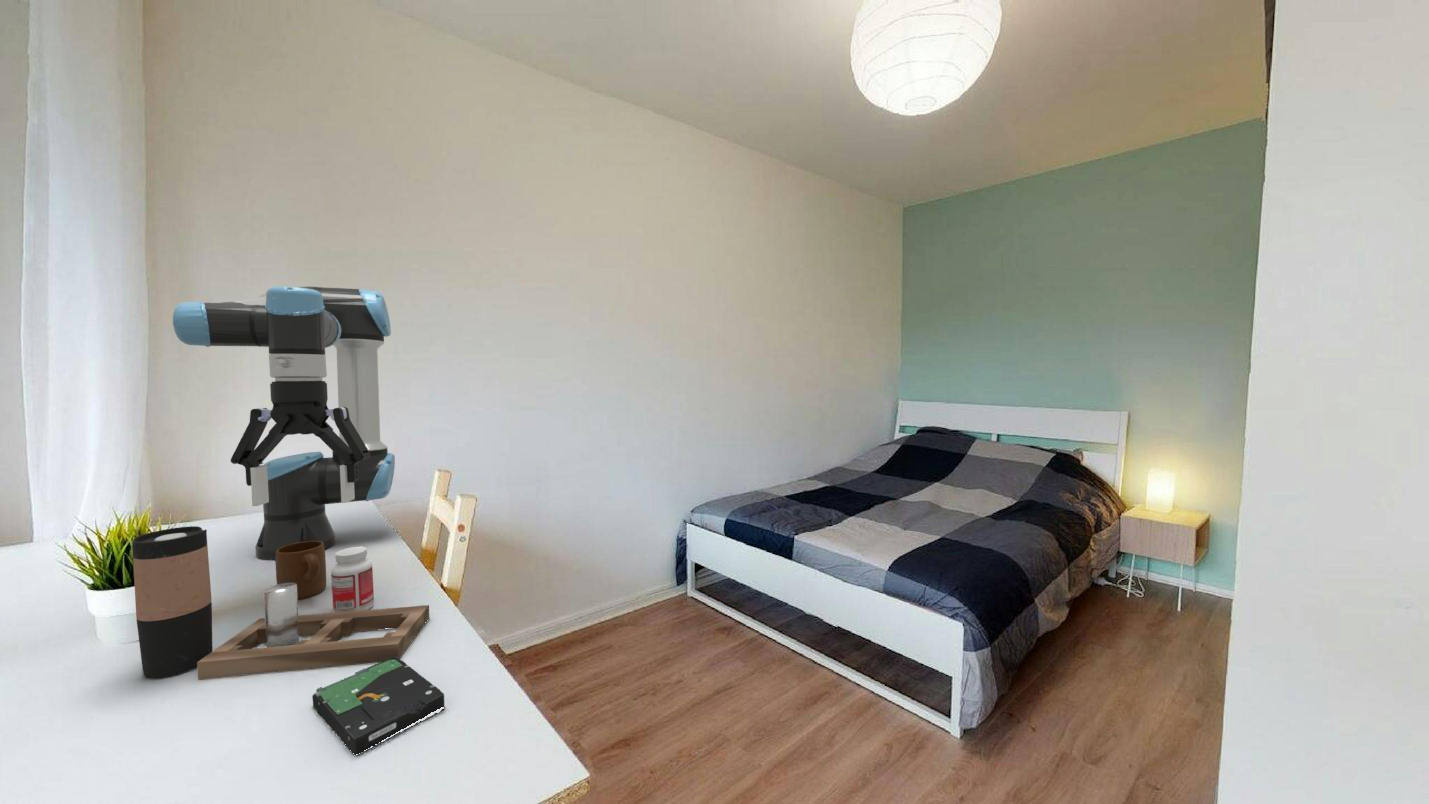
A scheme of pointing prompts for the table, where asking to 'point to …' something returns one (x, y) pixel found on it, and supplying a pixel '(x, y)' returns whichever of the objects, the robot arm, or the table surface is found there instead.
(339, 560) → the pill bottle
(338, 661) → the socket board
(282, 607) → the steel peg
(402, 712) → the disk drive
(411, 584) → the table surface
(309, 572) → the mug
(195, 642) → the travel mug
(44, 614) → the table surface
